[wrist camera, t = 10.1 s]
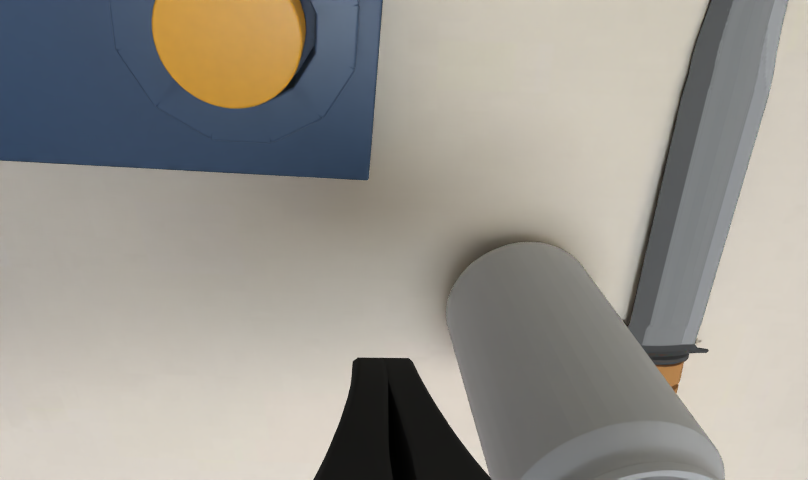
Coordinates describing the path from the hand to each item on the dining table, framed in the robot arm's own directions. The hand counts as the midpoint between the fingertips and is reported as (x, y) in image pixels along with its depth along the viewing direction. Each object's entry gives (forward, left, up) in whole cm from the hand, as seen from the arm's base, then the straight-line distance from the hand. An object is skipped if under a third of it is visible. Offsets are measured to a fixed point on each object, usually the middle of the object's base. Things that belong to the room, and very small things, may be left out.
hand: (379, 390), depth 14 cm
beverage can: (+7, -4, -11) cm, 13 cm away
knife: (+14, -2, -11) cm, 18 cm away
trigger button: (-4, +7, -7) cm, 11 cm away
